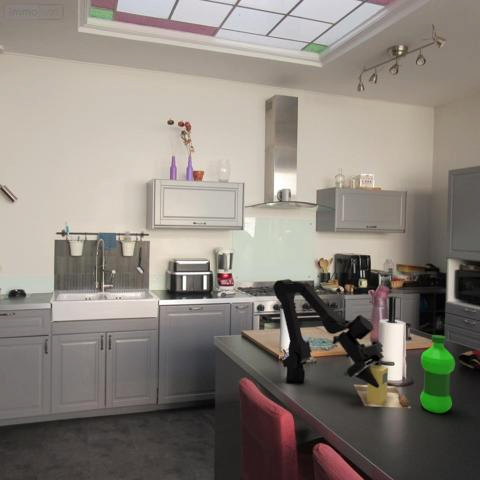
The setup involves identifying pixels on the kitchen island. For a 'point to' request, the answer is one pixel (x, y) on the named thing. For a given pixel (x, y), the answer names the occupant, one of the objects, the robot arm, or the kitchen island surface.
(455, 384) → the kitchen island surface
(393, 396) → the panel
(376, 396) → the tall mustard yellow pillar
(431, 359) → the plastic bottle
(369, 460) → the kitchen island surface
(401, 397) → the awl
